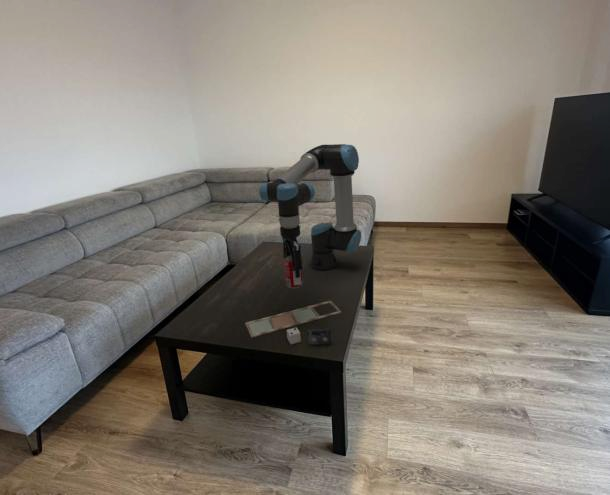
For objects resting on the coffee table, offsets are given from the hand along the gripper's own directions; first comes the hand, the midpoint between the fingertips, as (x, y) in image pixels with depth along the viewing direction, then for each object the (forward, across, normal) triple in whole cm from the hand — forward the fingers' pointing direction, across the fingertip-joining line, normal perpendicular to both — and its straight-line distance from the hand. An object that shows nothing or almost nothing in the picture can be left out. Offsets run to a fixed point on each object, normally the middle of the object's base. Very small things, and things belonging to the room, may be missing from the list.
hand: (293, 280), depth 140 cm
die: (+18, +14, -6) cm, 23 cm away
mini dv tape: (+18, +20, +2) cm, 27 cm away
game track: (+18, 0, -1) cm, 18 cm away
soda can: (+2, 0, 0) cm, 2 cm away
